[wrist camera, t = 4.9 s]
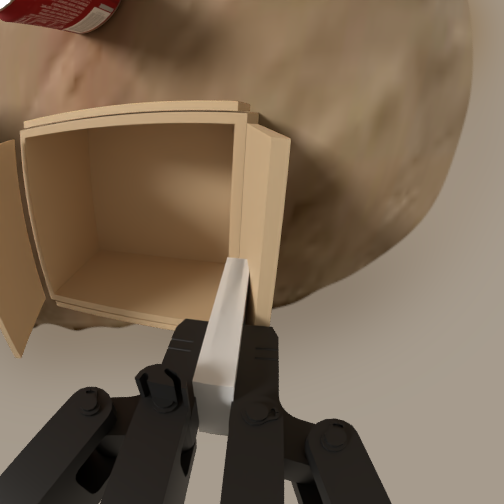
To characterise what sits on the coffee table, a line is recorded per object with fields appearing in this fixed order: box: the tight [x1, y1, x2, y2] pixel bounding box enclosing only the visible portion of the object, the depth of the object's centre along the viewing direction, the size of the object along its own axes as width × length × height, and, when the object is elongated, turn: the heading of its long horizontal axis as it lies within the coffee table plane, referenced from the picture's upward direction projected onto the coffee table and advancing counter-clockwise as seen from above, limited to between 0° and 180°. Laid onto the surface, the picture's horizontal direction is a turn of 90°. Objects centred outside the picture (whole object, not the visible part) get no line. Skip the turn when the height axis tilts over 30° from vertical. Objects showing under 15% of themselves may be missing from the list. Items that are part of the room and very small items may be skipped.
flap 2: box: [239, 123, 291, 327], centre depth 13 cm, size 7×13×1 cm
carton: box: [20, 100, 259, 331], centre depth 21 cm, size 16×15×9 cm
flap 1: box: [0, 139, 46, 358], centre depth 14 cm, size 7×13×1 cm
